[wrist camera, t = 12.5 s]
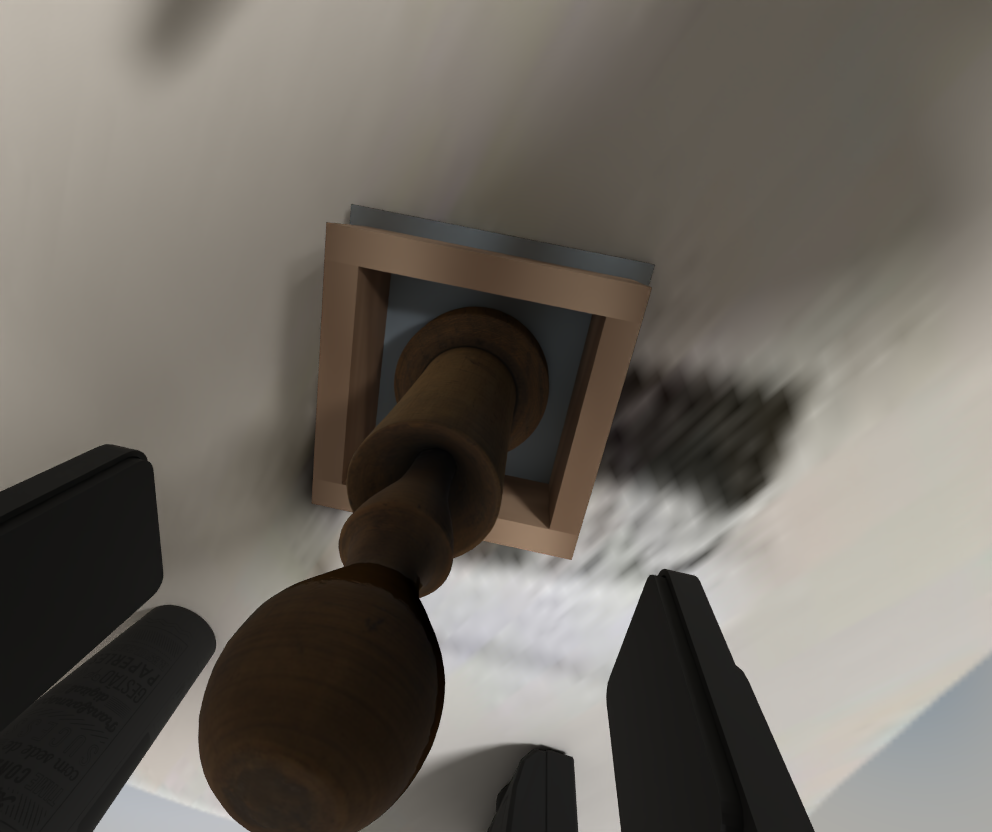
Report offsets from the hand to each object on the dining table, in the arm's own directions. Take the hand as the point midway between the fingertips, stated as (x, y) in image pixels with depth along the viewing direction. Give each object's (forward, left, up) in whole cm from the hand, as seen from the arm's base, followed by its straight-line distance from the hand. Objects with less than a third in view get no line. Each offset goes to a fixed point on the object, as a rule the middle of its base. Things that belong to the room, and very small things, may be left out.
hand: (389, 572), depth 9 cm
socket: (0, 0, -15) cm, 15 cm away
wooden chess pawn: (0, 0, -14) cm, 14 cm away
